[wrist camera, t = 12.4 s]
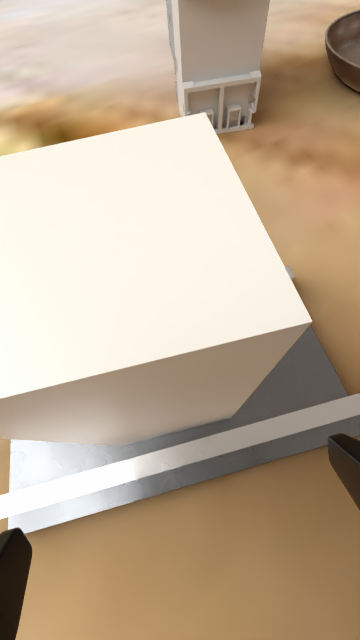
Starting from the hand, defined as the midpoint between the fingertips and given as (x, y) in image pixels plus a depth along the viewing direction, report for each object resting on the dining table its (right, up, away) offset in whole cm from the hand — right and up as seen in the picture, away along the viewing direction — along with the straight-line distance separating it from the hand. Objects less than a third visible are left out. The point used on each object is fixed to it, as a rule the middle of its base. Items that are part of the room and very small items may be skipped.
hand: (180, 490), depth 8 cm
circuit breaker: (+3, +32, +25) cm, 41 cm away
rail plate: (-1, +1, +10) cm, 10 cm away
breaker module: (-1, +1, +9) cm, 9 cm away
